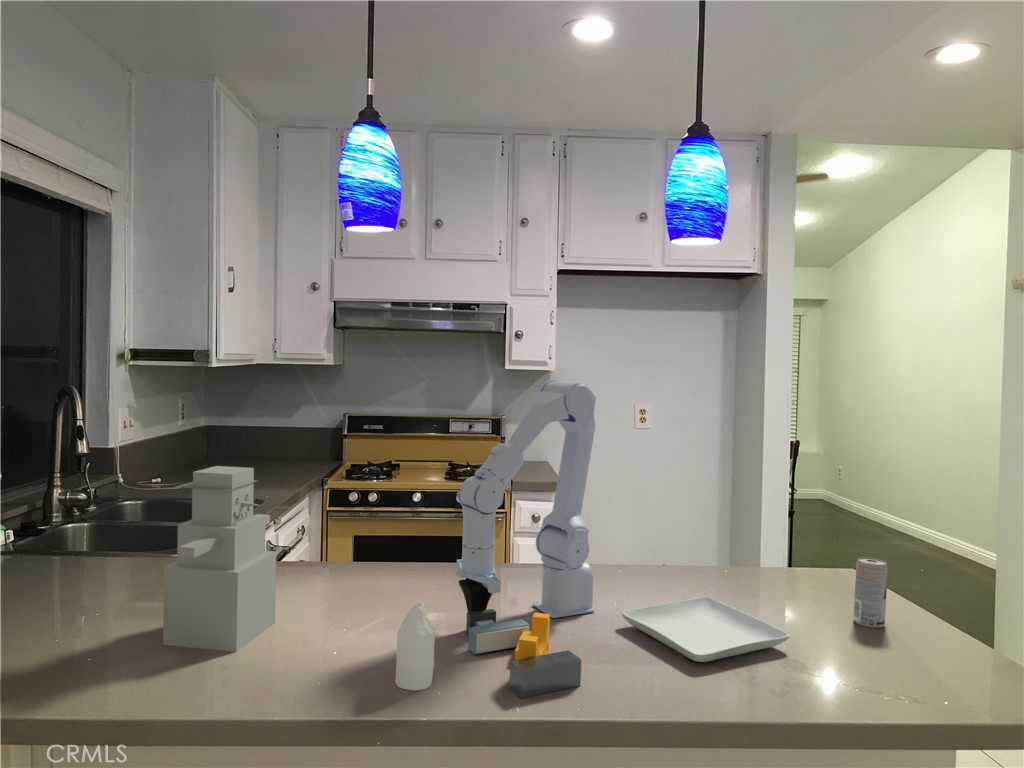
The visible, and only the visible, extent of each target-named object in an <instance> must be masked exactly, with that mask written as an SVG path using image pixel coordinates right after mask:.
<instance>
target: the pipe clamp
mask: <svg viewBox="0 0 1024 768" xmlns="http://www.w3.org/2000/svg"><path fill="white" fill-rule="evenodd" d="M531 619H532V620H531V627H530V629H531V630H529V631H523V633H522V634H521V636H520V638H519V641H518V645H517V647H515V650H514V660H519V659H525V658H530V657H535V656H541V655H546V654H549V652H550V628H551V627H550V625H551V624H550V623H551V621H550V620H551V617H550V614H546V613H544V612H543V613H540V612H534V613H533V615H532V618H531Z"/></svg>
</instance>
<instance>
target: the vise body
mask: <svg viewBox="0 0 1024 768" xmlns="http://www.w3.org/2000/svg"><path fill="white" fill-rule="evenodd" d="M509 663H510V664H509V689H510V690H511V691H512V692H513V693H514V694H516V696H517V697H518V698H520V699H526V698H530V697H531V698H532V697H535V696H540V695H546V694H548V693H554V692H558V691H562V690H567V689H572V688H577V687H580V686H581V681H582V678H581V677H582V675H581V674H582V659H581V658H580V657H578V656H577V655H576V654H574V653H573V652H572V651H570V650H562V651H558V652H557V651H556V652H552V653H548V654H546V655H541V656H535V657H530V658H525V659H519V660H515V659H514V660H510V662H509Z"/></svg>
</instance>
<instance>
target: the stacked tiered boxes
mask: <svg viewBox="0 0 1024 768" xmlns="http://www.w3.org/2000/svg"><path fill="white" fill-rule="evenodd" d="M254 472H255V468H254V467H244V466H243V467H242V466H241V467H240V466H225V465H224V466H223V465H215V466H211V467H207V468H203V469H199V470H196V471H193V472H192V481H191V482H187V483H183V484H180V485H177V486H175V488H183V489H184V488H185V489H191V491H192V492H191V493H192V495H191V499H192V500H191V519H189V520H187V521H184V522H181V523H178V524H177V543H176V544H177V550H176V551H177V556H176V557H177V558H176V559H177V560H176V561H173V562H172V563H169V564H167V565H164V566H163V612H162V613H163V617H162V619H163V621H162V623H163V625H162V627H163V629H162V630H163V631H162V645H163V646H170V647H171V646H173V647H181V648H182V647H183V648H190V649H191V648H192V649H201V650H213V651H220V652H221V651H222V652H230V653H231V652H232V653H237V652H239V651H240V650H241V649H242V648H244V647H245V646H247V645H248V644H249V643H250V642H252V641H253V640H255V639H256V638H257V637H259V636H260V635H261V634H262V633H264V632H265V631H266V630H268V629H269V628H271V627H272V626H273V625H275V624H276V587H277V586H276V582H277V581H276V579H277V578H276V576H277V575H276V574H277V551H274V550H266V526H267V525H268V524H270V523H271V514H260V513H257V514H254V507H257V506H258V507H259V506H260V504H257V503H254V491H255V490H254V489H255V488H254V487H255V483H257V482H259V480H256V479H255V480H254V478H255V473H254Z"/></svg>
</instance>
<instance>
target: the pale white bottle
mask: <svg viewBox="0 0 1024 768" xmlns="http://www.w3.org/2000/svg"><path fill="white" fill-rule="evenodd" d="M435 634H436V629H435V627H434V626H433V625H432V624H431V622H430V620H429V618H428V617H427V613H426V610H425V604H424V602H422V601H421V602H418V603H417V604H416V605H414V606H413V607H412V608H411V609H410V611H408V613H406V614H405V616H404V618H403V620H402V622H401V624H400V626H399V628H398V630H397V639H396V642H397V643H396V658H395V659H396V663H395V666H396V667H395V684H396V686H397V687H398V688H400V689H403V690H407V691H423V690H427V689H428V688H430V687H431V686H432V684H433V673H434V666H435V639H436V636H435Z"/></svg>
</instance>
